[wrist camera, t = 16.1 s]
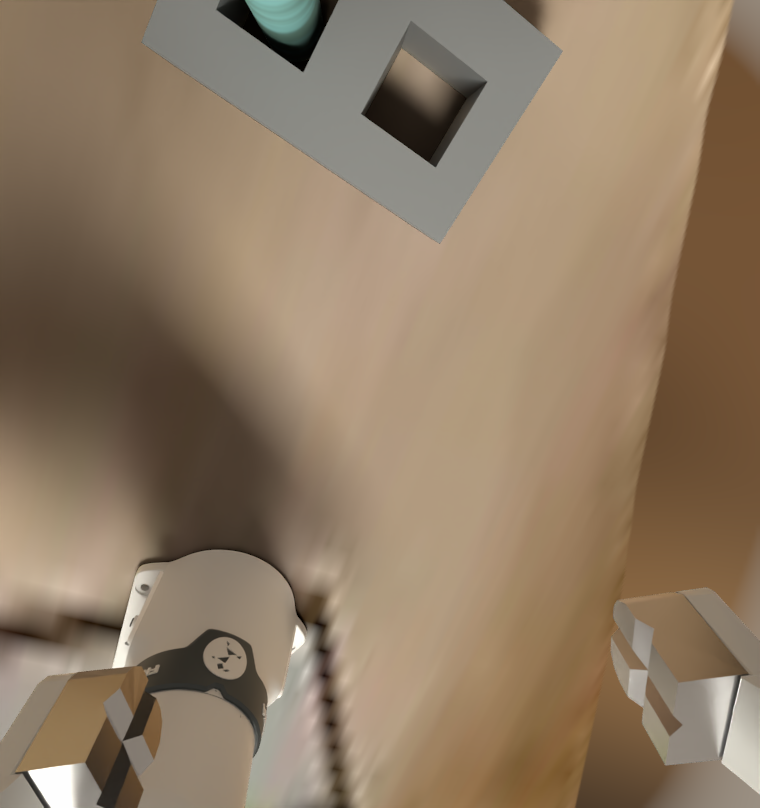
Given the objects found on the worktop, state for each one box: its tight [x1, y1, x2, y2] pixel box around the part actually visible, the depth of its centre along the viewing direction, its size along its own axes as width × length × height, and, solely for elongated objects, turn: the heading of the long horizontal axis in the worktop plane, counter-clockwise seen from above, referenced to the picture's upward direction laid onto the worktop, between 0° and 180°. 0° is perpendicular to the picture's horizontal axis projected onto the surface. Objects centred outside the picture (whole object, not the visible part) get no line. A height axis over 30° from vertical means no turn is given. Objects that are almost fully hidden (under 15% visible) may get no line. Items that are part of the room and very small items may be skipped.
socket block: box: [141, 0, 563, 244], centre depth 32 cm, size 13×21×6 cm, turn 58°
